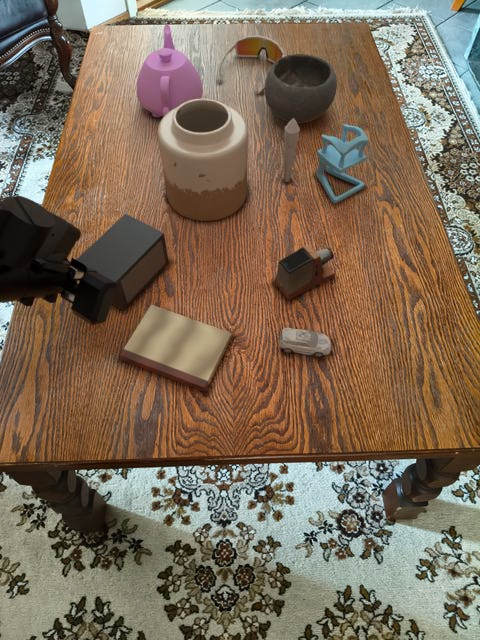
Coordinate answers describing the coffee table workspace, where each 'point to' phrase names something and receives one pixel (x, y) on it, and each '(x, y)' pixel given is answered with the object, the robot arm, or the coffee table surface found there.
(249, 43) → the sunglasses
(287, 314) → the coffee table surface
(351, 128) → the blue-grey angular frame piece
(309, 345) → the toy car
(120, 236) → the block
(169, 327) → the notebook
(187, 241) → the coffee table surface
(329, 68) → the bowl
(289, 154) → the grey pointed post
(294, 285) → the electronic device
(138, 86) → the teapot
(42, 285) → the robot arm
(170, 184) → the vase
